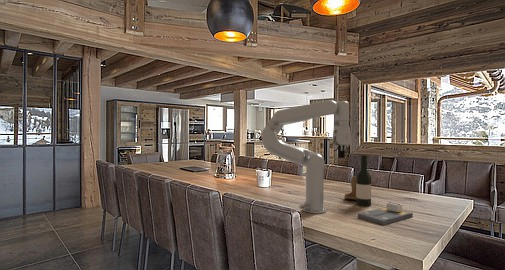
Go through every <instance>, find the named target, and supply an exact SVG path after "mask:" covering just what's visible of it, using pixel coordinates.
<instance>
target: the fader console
mask: <svg viewBox="0 0 505 270" xmlns="http://www.w3.org/2000/svg"><path fill="white" fill-rule="evenodd" d="M357 218H358V219H362V220H364V221H368V222H371V223H375V224H378V225H381V226H382V225H383V226H384V225H388V224H392V223H395V222H398V221H404V220H405V219H410V218H413V212H410V211H406V210H403V209H402V211H400V212H395V211H391V210H387V206H385V207H381V208H377V209H372V210H367V211H363V212H359V213H357Z"/></svg>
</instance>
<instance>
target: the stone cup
mask: <svg viewBox="0 0 505 270" xmlns="http://www.w3.org/2000/svg"><path fill="white" fill-rule="evenodd" d="M356 176H357V175H353V176H351V179H350V185H351V187H350V188H351V192H349V193H345V194H344V199H345V200H351V201H352V200H353V201H356Z"/></svg>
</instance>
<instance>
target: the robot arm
mask: <svg viewBox="0 0 505 270" xmlns="http://www.w3.org/2000/svg"><path fill="white" fill-rule="evenodd" d="M331 115H334V123H333V124H334V126H333V130H332V131H333V132H332V144H333V147H334V148H336V150H337V158H339V159H345V157H346V152H345V151H346V150H347V148H349V146H350V145H351V144H352V133H351V128H350V123H349V122H350V103H349V102H348V101H346V100H342V101H334V100H332V99H329V100H323V101H318V102H314V103H310V104H303V105H298V106H292V107H289V108H285V109H284V108H283V109H279V110H276V111H275V112H274V113H273V114H272V117H271V118H270V119H269V120H268V123H267V124H266V125H265V127H263V129H262V131H261V134H260V135H261V142H262V145H263V147H264V148H265V150H266V151H267V152H269V153H270V154H272V155H274V156H276V157H279V158H281V159H283V160H286V161H289V162H290V163H293V164H297V165H301V166H303V167H306V168H305V169H306V170H305V201H304V203H303V204H301V205H299V206H298V208H299V209H300V210H303V212H306V213H308V214H324V213H326V212H327V208H326V207H324V190H325V189H324V183H325V182H324V180H325V177H324V174H325V165H326V164H325V163H326V162H325V158H324V157H323V155H321V154H320V153H318V152H316V151H312V150H309V149H306V148H303V147H300V146H298V145H293V144H289V143H287V142H284V141H282V140H280V139H279V138H278V135H279V133H280V132H281V131H282V129H283V127H284V126H285V125H291V124H297V123H301V122H306V121H309V120H311V119H315V118H321V117H325V116H331Z"/></svg>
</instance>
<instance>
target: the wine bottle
mask: <svg viewBox="0 0 505 270" xmlns="http://www.w3.org/2000/svg"><path fill="white" fill-rule="evenodd" d="M355 176H356V200H355V204H356V206H360V207H368V208H369V207H371V206H372V176H371V175H370V172H369V171H368V155H367V154H366V153H362V154H361V155H360V170H359V172H358V173H357V175H355Z"/></svg>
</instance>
